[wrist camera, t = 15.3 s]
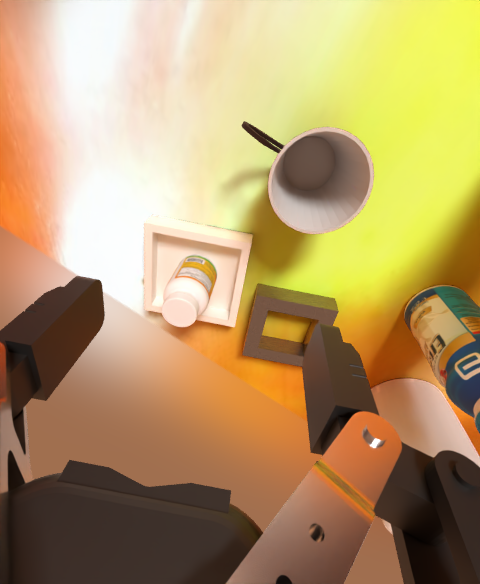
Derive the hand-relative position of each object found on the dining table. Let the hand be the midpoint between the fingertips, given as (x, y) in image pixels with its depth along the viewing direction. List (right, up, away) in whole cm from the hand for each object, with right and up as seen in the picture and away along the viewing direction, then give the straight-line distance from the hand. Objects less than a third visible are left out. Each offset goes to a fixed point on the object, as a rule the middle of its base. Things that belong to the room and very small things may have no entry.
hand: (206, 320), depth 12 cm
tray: (-4, +4, +31) cm, 32 cm away
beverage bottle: (+28, -1, +31) cm, 42 cm away
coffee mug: (+8, +16, +22) cm, 29 cm away
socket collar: (+8, -3, +34) cm, 36 cm away
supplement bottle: (-4, +4, +31) cm, 31 cm away
